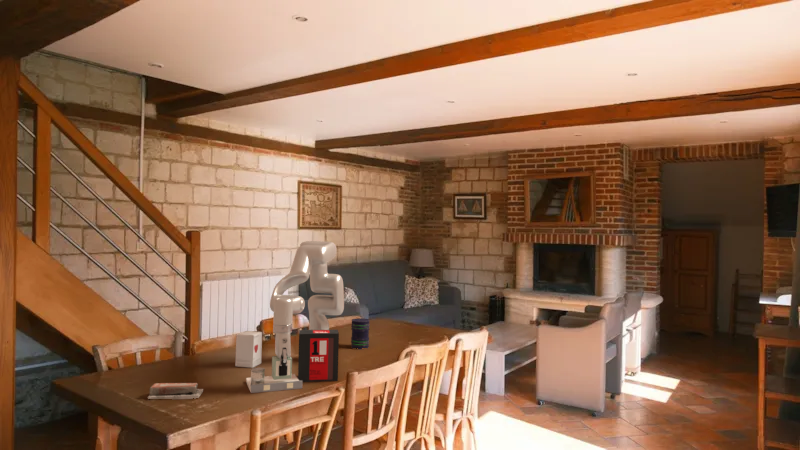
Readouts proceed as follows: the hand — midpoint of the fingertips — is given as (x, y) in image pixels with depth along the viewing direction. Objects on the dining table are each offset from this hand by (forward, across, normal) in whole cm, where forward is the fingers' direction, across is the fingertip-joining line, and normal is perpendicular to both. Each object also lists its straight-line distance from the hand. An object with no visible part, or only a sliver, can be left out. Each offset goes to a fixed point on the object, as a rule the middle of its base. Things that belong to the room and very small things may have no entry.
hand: (281, 373), depth 215 cm
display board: (+5, +4, +2) cm, 7 cm away
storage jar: (+5, +60, -53) cm, 80 cm away
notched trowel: (+6, +1, +39) cm, 40 cm away
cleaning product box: (+6, +7, -17) cm, 19 cm away
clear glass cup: (+4, -1, +9) cm, 10 cm away
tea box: (+2, 0, 0) cm, 2 cm away
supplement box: (+6, +39, +8) cm, 40 cm away
